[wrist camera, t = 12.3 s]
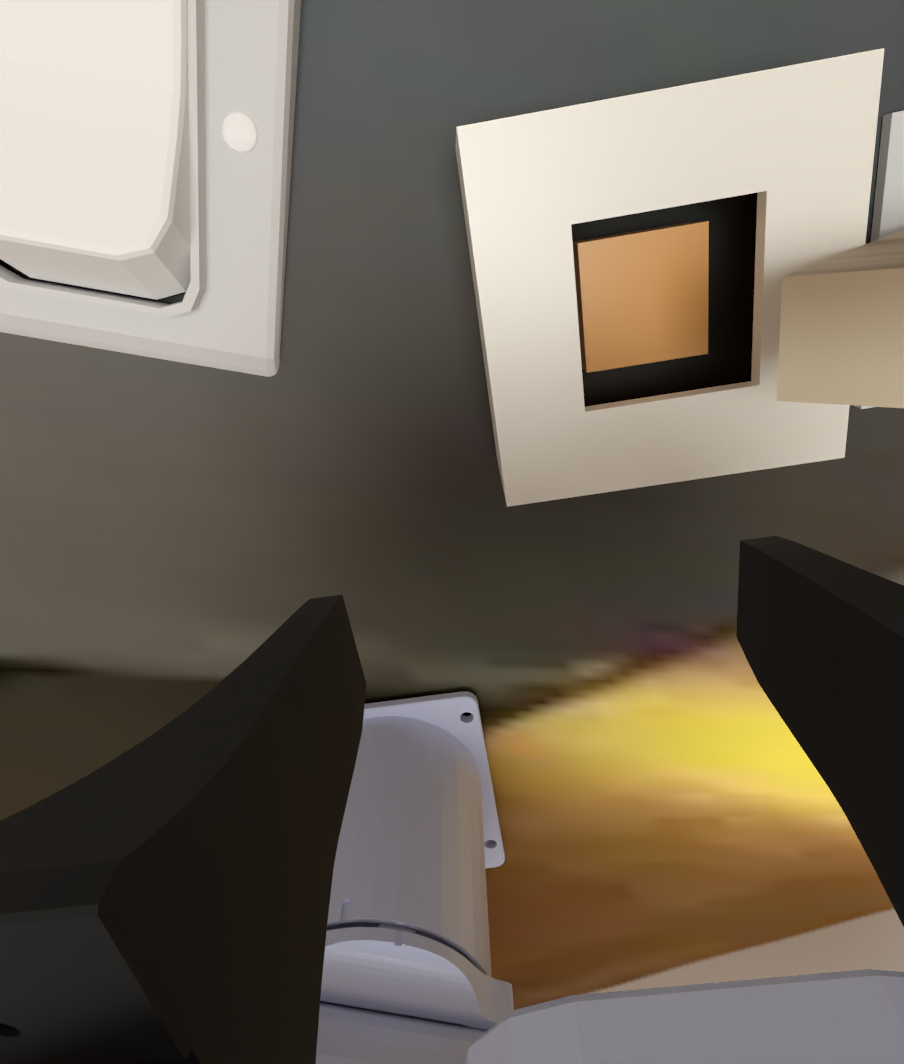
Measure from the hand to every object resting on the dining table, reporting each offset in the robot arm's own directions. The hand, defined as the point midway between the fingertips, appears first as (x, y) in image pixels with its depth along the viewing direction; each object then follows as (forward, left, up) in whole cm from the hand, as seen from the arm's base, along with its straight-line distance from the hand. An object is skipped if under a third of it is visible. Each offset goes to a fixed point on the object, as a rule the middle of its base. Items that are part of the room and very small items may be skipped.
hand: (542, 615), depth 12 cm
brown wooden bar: (+4, -13, -9) cm, 17 cm away
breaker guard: (+4, -4, -10) cm, 12 cm away
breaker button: (+4, -4, -10) cm, 12 cm away
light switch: (+11, +10, -11) cm, 19 cm away
